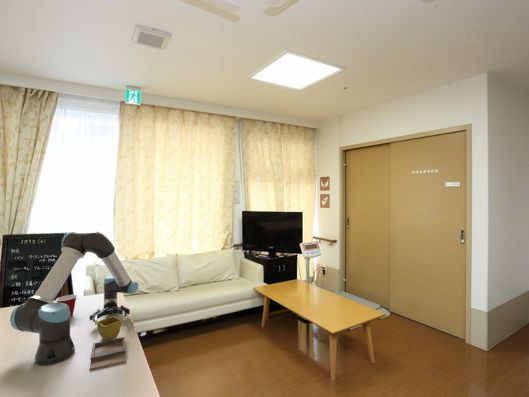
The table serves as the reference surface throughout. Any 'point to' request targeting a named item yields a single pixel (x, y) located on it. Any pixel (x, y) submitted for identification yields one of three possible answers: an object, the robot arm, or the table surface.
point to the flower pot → (109, 327)
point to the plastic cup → (68, 302)
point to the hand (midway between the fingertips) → (110, 320)
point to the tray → (108, 353)
